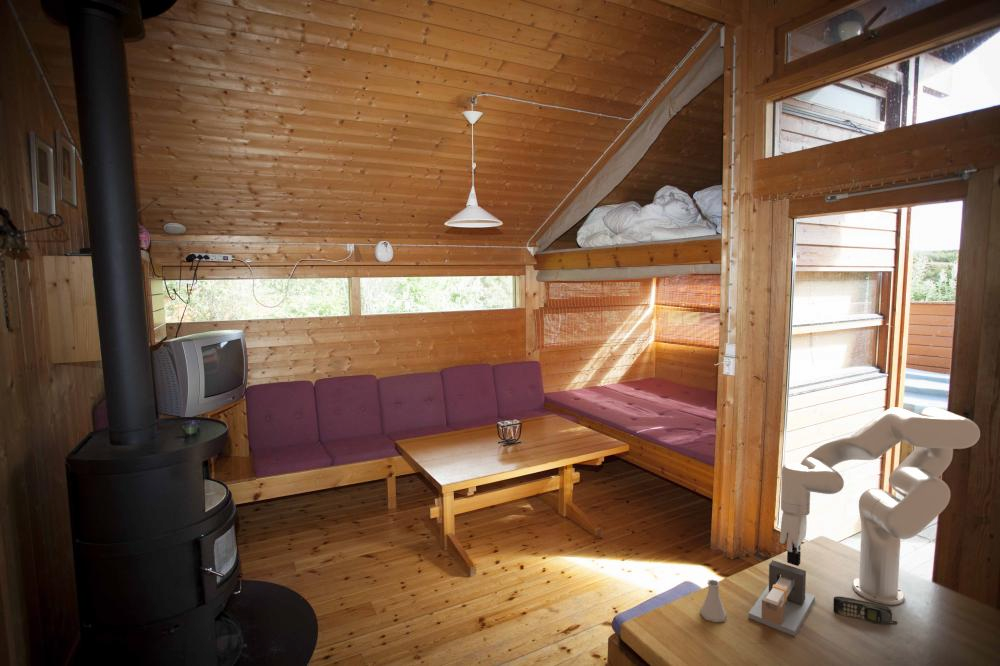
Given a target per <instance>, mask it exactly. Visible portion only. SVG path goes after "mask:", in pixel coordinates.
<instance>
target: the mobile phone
mask: <svg viewBox="0 0 1000 666" xmlns="http://www.w3.org/2000/svg"><path fill="white" fill-rule="evenodd" d="M833 613H834V614H836V615H839V616H844V617H848V618H852V619H857V620H861V621H865V622H870V623H873V624H877V625H878V624H879V625H880V624H882V625H883V624H884V625H889V624H895V625H897V624H898V621H896V620H893V614H892V613H893V612H892V610H891V609H890V607H888V606H886V605H884V604H882V605H881V604H880V603H876V602H872V601H871V602H870V601H866V600H860V599H856V598H852V597H845V596H835V597H833Z"/></svg>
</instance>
